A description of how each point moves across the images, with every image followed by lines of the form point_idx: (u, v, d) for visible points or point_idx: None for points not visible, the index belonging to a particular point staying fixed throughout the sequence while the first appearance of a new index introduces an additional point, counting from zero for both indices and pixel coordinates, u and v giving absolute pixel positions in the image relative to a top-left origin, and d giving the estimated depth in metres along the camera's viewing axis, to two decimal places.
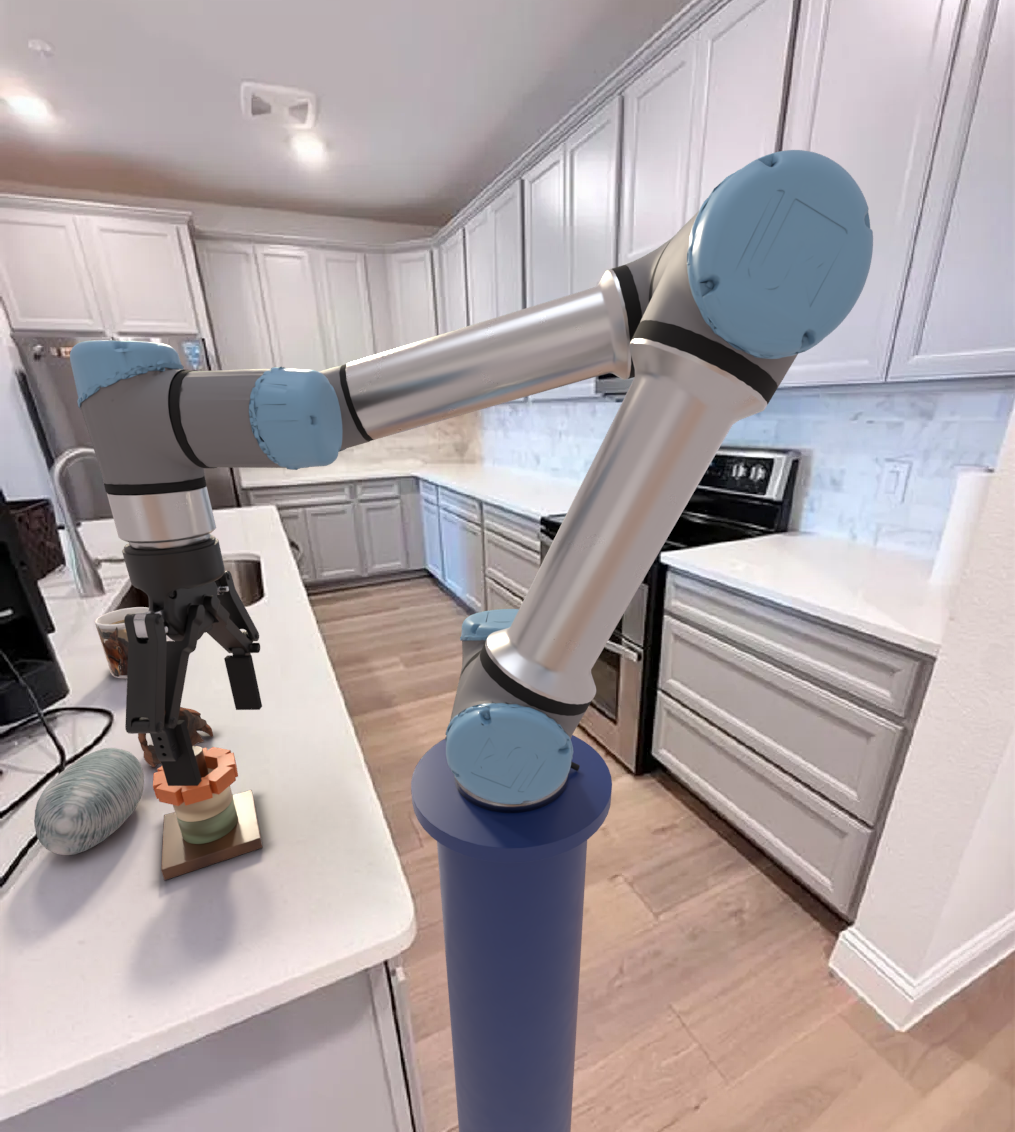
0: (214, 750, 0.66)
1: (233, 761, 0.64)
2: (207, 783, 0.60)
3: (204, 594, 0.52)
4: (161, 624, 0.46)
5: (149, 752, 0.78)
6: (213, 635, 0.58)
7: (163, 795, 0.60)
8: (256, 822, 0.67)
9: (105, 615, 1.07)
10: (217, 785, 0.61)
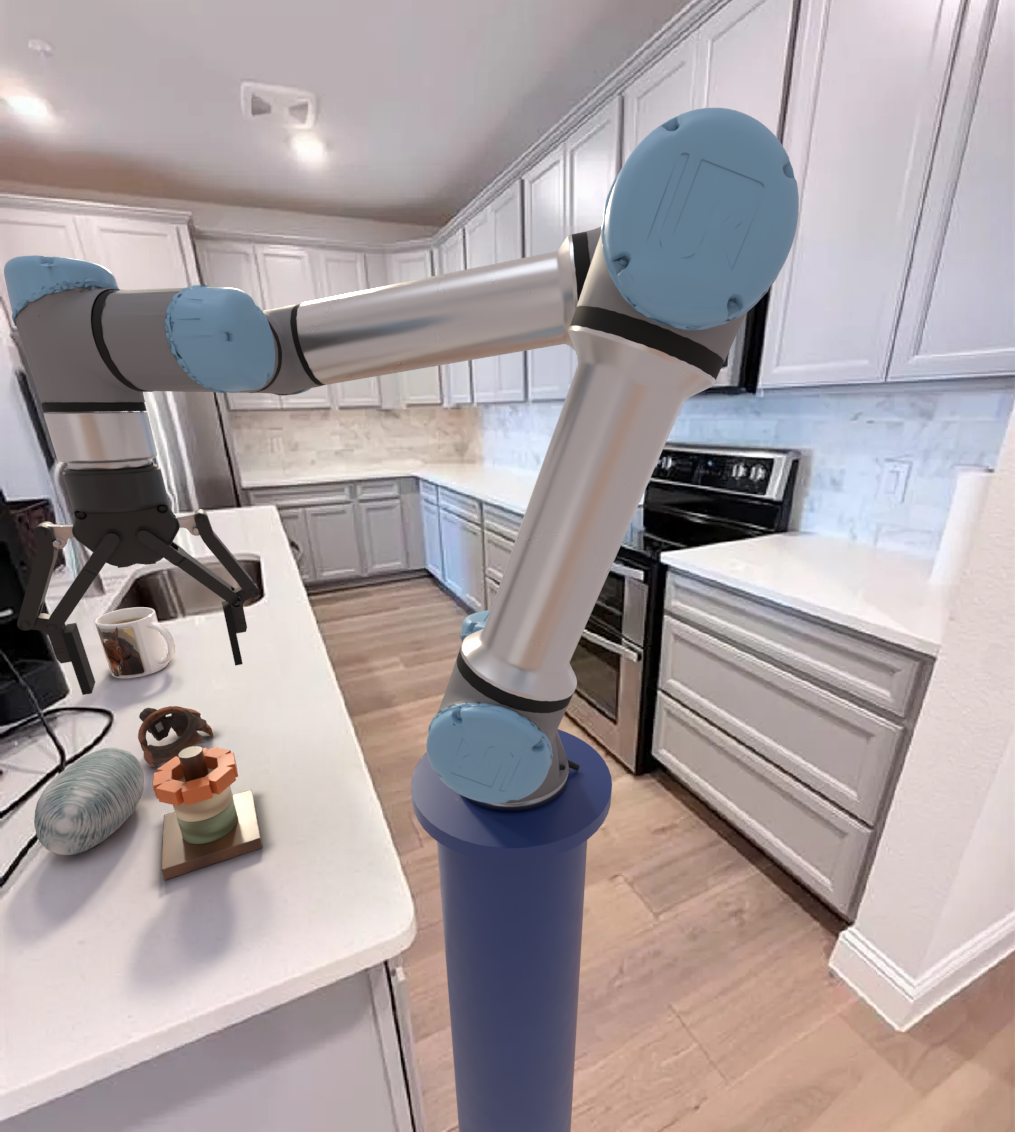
0: (214, 750, 0.66)
1: (233, 761, 0.64)
2: (207, 783, 0.60)
3: (142, 527, 0.52)
4: (45, 537, 0.49)
5: (149, 752, 0.78)
6: None
7: (163, 795, 0.60)
8: (256, 822, 0.67)
9: (105, 615, 1.07)
10: (217, 785, 0.61)
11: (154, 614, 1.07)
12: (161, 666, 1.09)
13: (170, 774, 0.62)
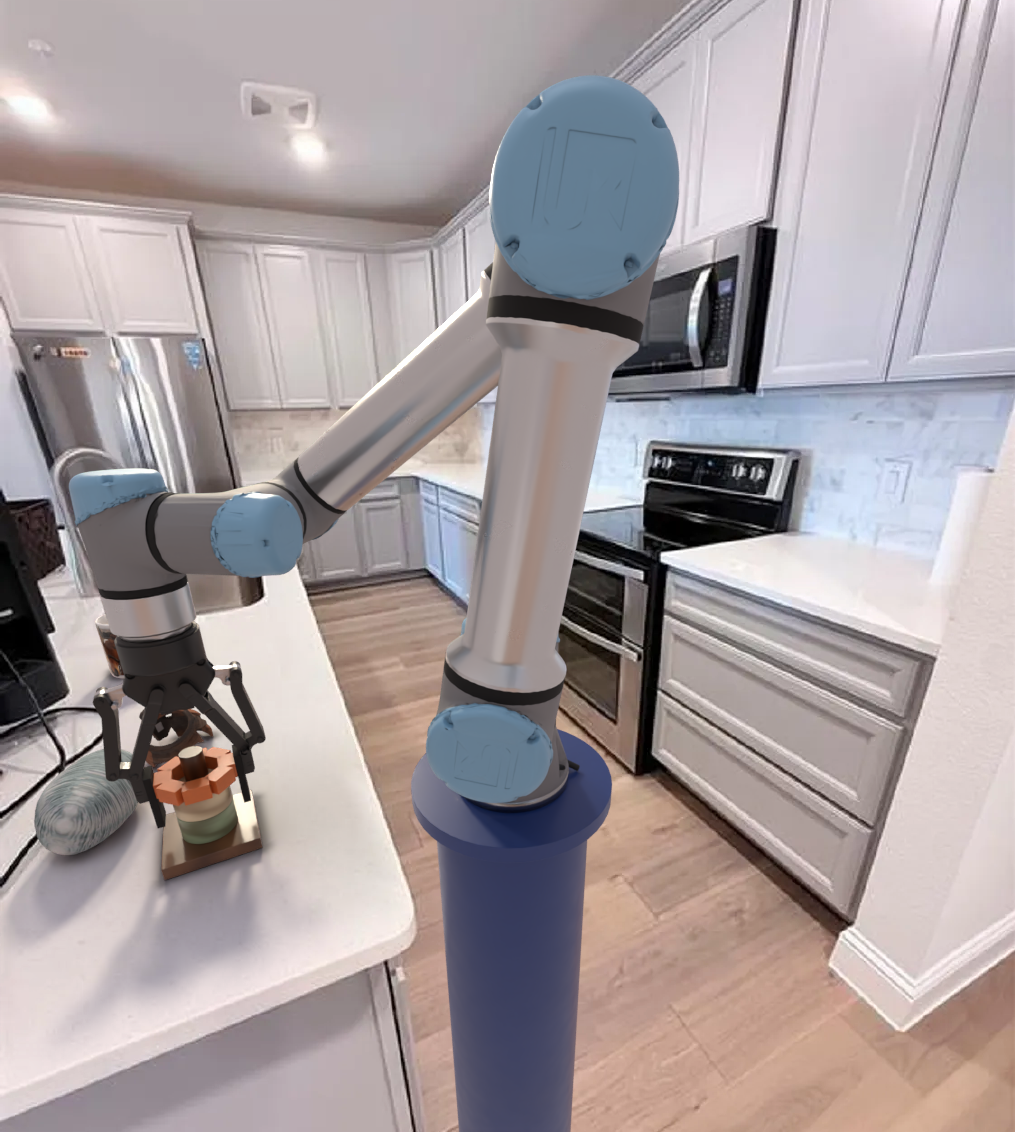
0: (214, 750, 0.66)
1: (233, 761, 0.64)
2: (207, 783, 0.60)
3: (183, 679, 0.58)
4: (104, 704, 0.55)
5: (149, 752, 0.78)
6: None
7: (163, 795, 0.60)
8: (256, 822, 0.67)
9: (105, 615, 1.07)
10: (217, 785, 0.61)
11: None
12: None
13: (170, 774, 0.62)
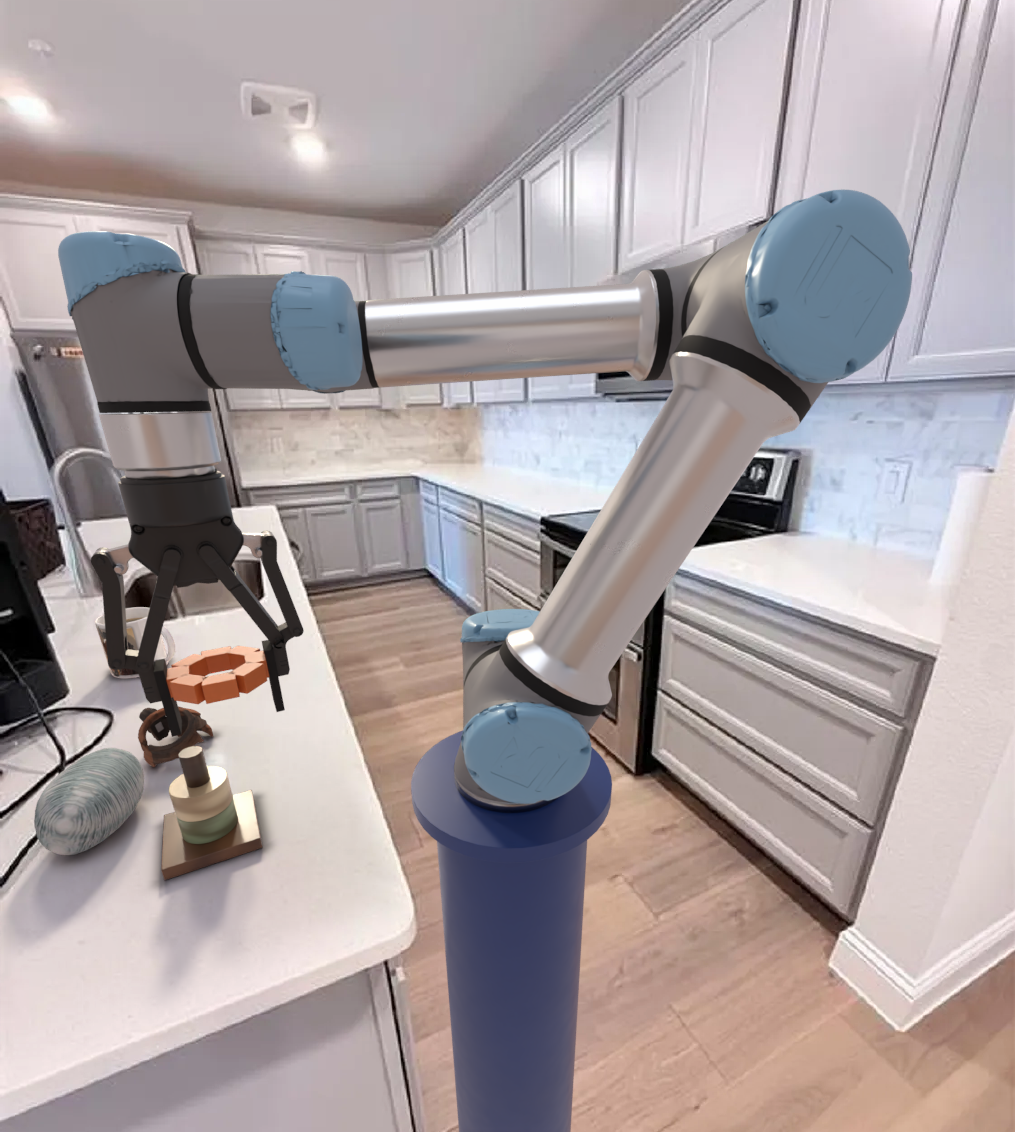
0: (240, 649, 0.54)
1: (264, 658, 0.52)
2: (233, 677, 0.48)
3: (205, 541, 0.46)
4: (105, 565, 0.43)
5: (149, 752, 0.78)
6: None
7: (178, 691, 0.48)
8: (256, 822, 0.67)
9: None
10: (246, 682, 0.49)
11: None
12: None
13: (187, 669, 0.50)
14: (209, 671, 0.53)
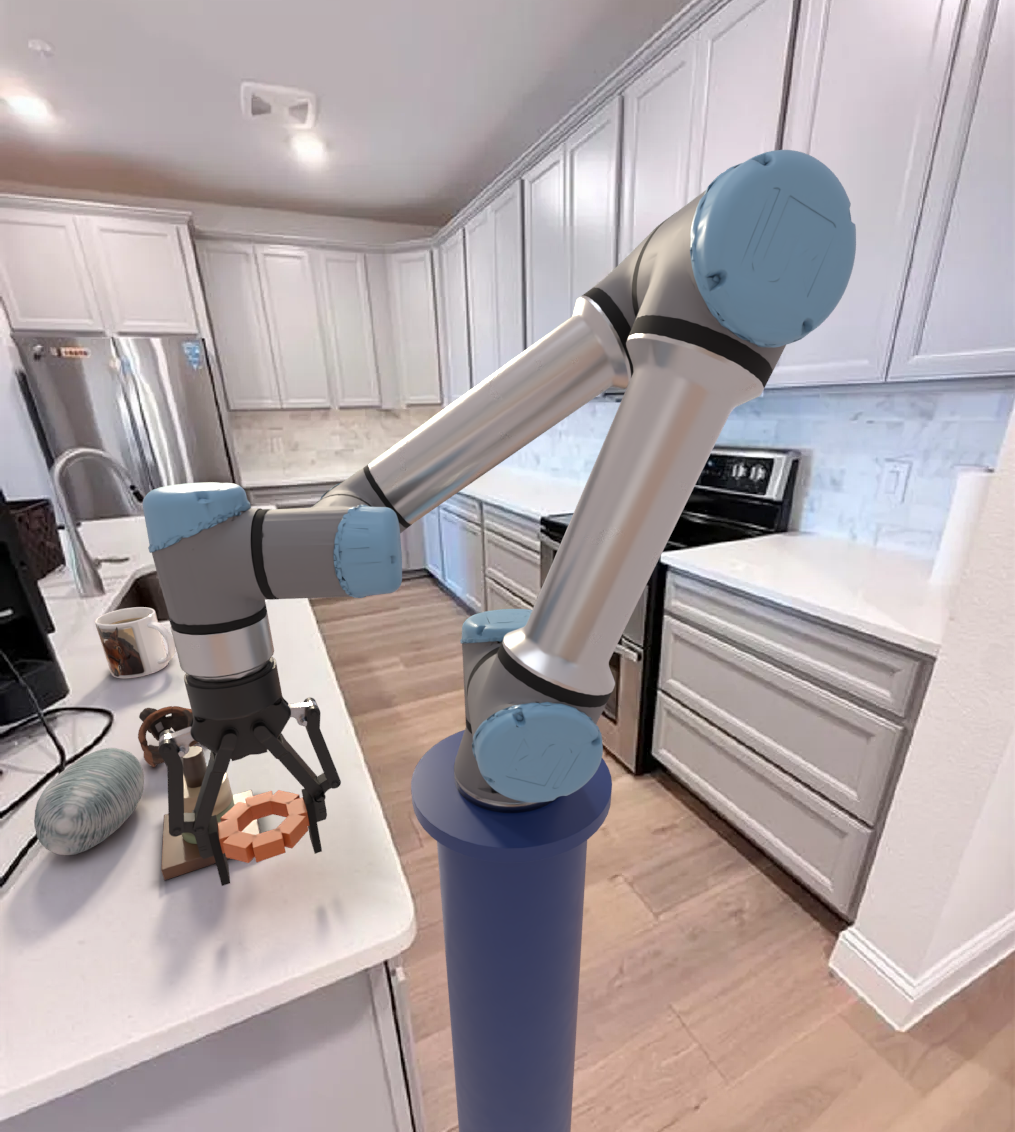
0: (281, 795, 0.59)
1: (305, 808, 0.57)
2: (280, 836, 0.53)
3: (257, 720, 0.51)
4: (171, 751, 0.48)
5: (149, 752, 0.78)
6: None
7: (231, 851, 0.53)
8: (256, 822, 0.67)
9: (105, 615, 1.07)
10: (291, 838, 0.54)
11: (154, 614, 1.07)
12: (161, 666, 1.09)
13: (236, 824, 0.55)
14: (253, 818, 0.58)
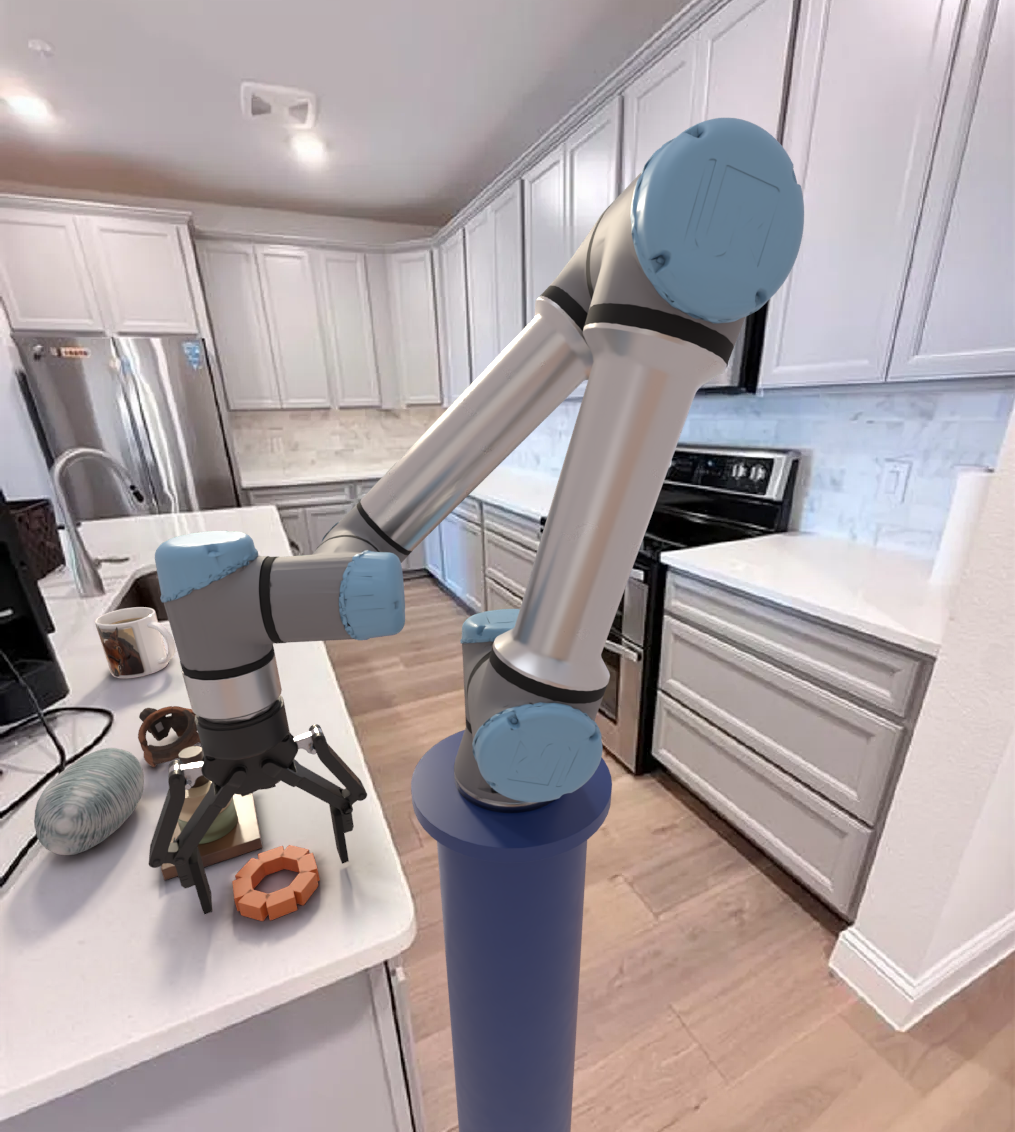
0: (292, 850, 0.62)
1: (315, 865, 0.60)
2: (292, 895, 0.56)
3: (266, 757, 0.53)
4: (179, 783, 0.49)
5: (149, 752, 0.78)
6: None
7: (245, 910, 0.56)
8: (256, 822, 0.67)
9: (105, 615, 1.07)
10: (302, 896, 0.57)
11: (154, 614, 1.07)
12: (161, 666, 1.09)
13: (250, 883, 0.58)
14: (265, 873, 0.61)
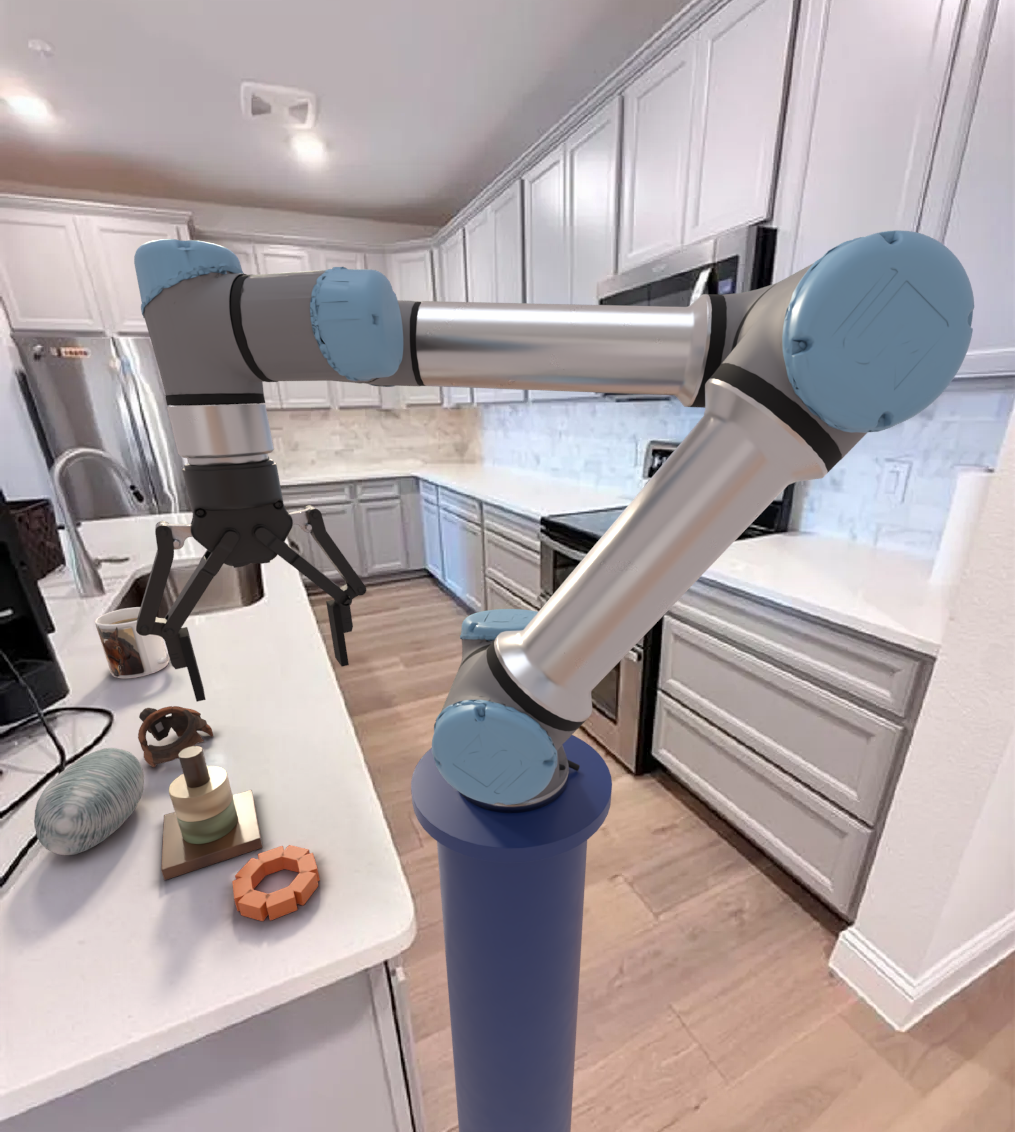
0: (292, 850, 0.62)
1: (315, 865, 0.60)
2: (292, 895, 0.56)
3: (259, 524, 0.50)
4: (167, 537, 0.47)
5: (149, 752, 0.78)
6: None
7: (245, 910, 0.56)
8: (256, 822, 0.67)
9: (105, 615, 1.07)
10: (302, 896, 0.57)
11: None
12: (161, 666, 1.09)
13: (250, 883, 0.58)
14: (265, 873, 0.61)
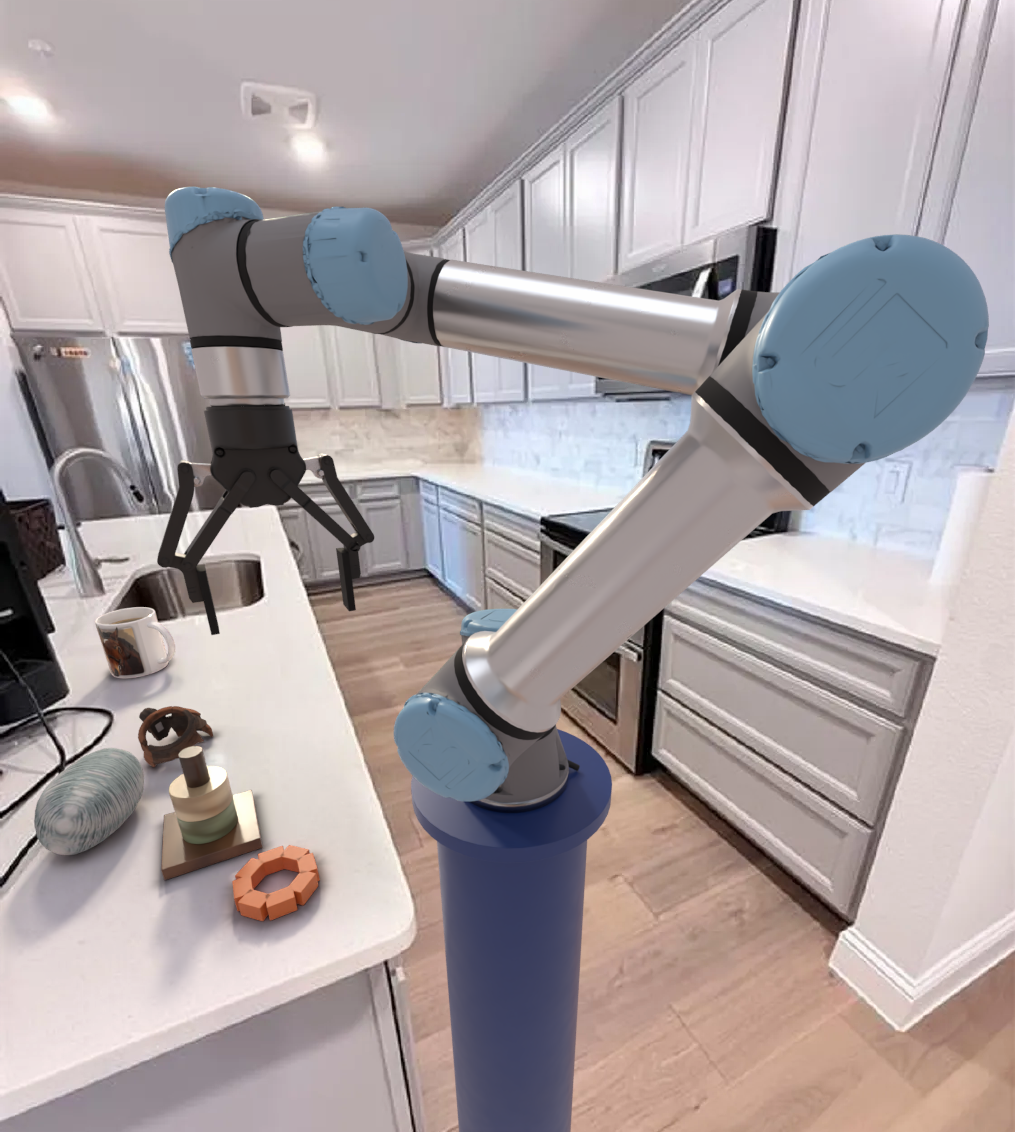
0: (292, 850, 0.62)
1: (315, 865, 0.60)
2: (292, 895, 0.56)
3: (274, 467, 0.53)
4: (188, 474, 0.50)
5: (149, 752, 0.78)
6: (315, 518, 0.58)
7: (245, 910, 0.56)
8: (256, 822, 0.67)
9: (105, 615, 1.07)
10: (302, 896, 0.57)
11: (154, 614, 1.07)
12: (161, 666, 1.09)
13: (250, 883, 0.58)
14: (265, 873, 0.61)
